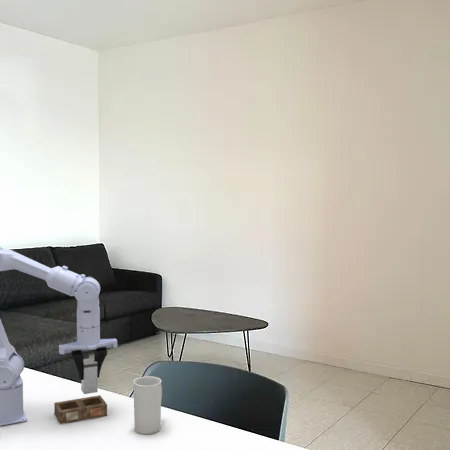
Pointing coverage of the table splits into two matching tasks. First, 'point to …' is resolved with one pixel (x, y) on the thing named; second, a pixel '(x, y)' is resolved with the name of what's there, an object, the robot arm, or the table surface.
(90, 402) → the port block
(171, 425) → the table surface
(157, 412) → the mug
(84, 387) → the plug
